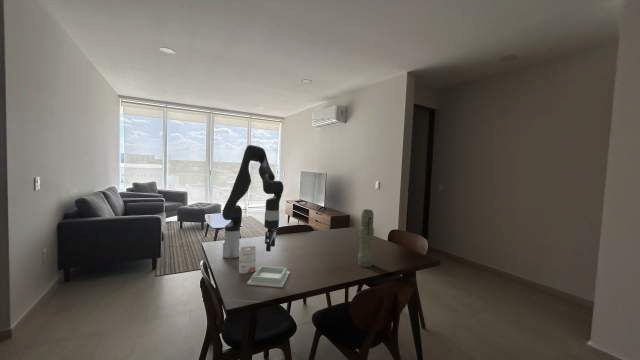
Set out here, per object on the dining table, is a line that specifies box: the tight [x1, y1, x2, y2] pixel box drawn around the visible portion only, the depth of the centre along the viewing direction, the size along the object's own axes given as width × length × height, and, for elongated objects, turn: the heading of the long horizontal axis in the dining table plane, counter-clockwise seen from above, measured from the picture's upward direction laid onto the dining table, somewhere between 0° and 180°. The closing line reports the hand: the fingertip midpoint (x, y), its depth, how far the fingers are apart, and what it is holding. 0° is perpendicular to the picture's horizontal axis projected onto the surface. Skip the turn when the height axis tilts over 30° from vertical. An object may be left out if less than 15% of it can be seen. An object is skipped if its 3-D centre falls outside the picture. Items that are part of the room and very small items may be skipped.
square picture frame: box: [246, 265, 291, 288], centre depth 140 cm, size 18×18×4 cm
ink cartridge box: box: [238, 245, 257, 274], centre depth 148 cm, size 9×5×15 cm, turn 113°
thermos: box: [357, 208, 375, 268], centre depth 167 cm, size 9×12×35 cm
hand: (270, 248), depth 139 cm, fingers open, 8 cm apart
